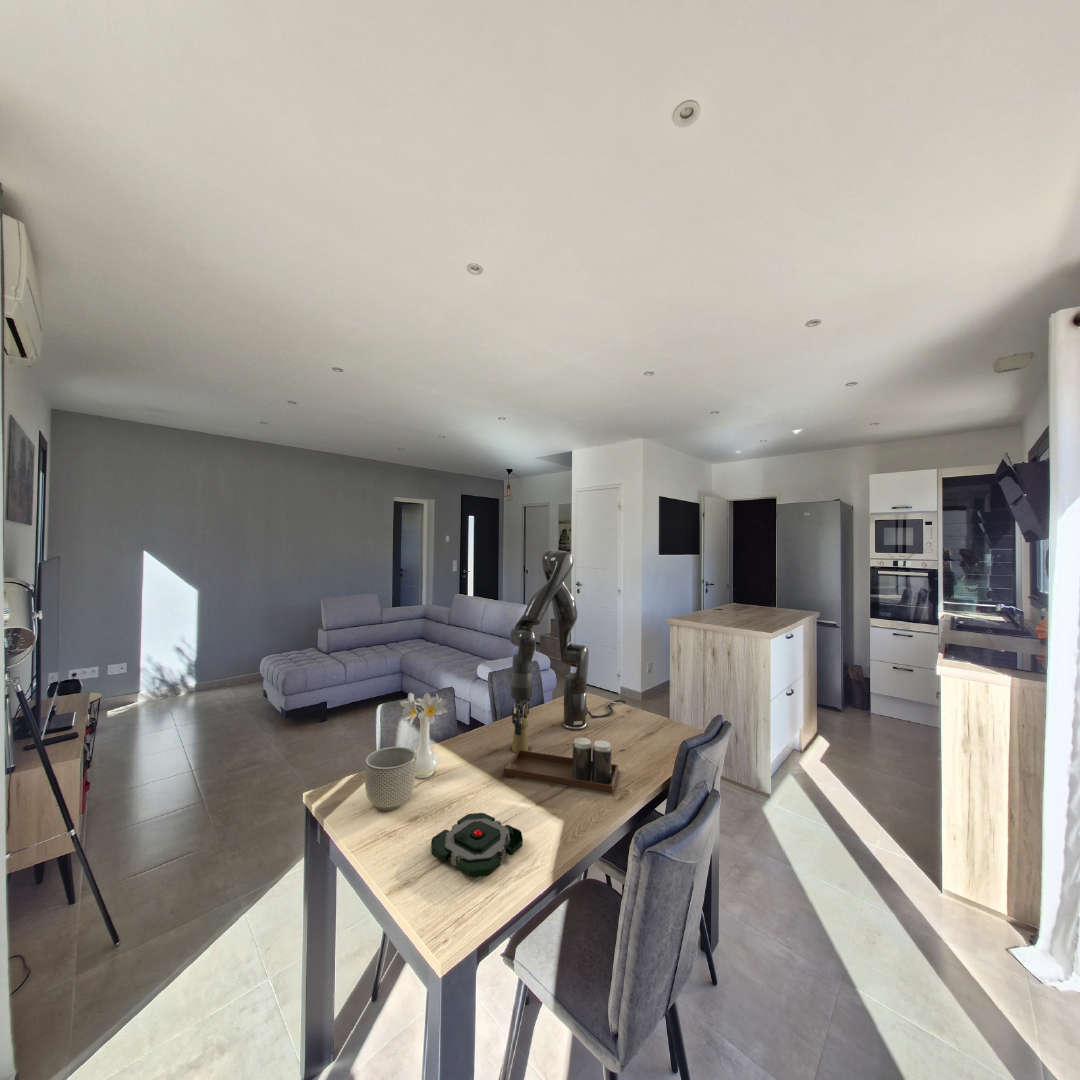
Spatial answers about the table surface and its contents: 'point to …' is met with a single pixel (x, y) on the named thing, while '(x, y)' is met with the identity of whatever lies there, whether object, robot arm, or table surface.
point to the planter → (390, 776)
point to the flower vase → (424, 730)
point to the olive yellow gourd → (521, 738)
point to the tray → (553, 770)
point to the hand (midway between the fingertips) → (520, 731)
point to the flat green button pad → (476, 844)
